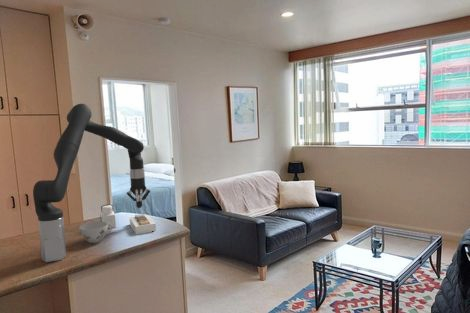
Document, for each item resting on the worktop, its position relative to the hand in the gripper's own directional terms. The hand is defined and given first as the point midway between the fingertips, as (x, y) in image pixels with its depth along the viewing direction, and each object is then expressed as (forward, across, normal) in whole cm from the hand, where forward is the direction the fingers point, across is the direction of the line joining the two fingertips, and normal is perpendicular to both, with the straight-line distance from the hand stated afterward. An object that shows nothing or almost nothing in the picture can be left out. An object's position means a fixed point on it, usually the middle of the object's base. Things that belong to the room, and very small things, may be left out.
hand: (139, 207), depth 182 cm
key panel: (+10, 0, -6) cm, 11 cm away
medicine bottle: (+10, -16, +6) cm, 20 cm away
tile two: (+7, 0, -6) cm, 9 cm away
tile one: (+7, 0, -12) cm, 14 cm away
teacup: (+10, -23, -14) cm, 29 cm away
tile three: (+7, 0, 0) cm, 7 cm away
